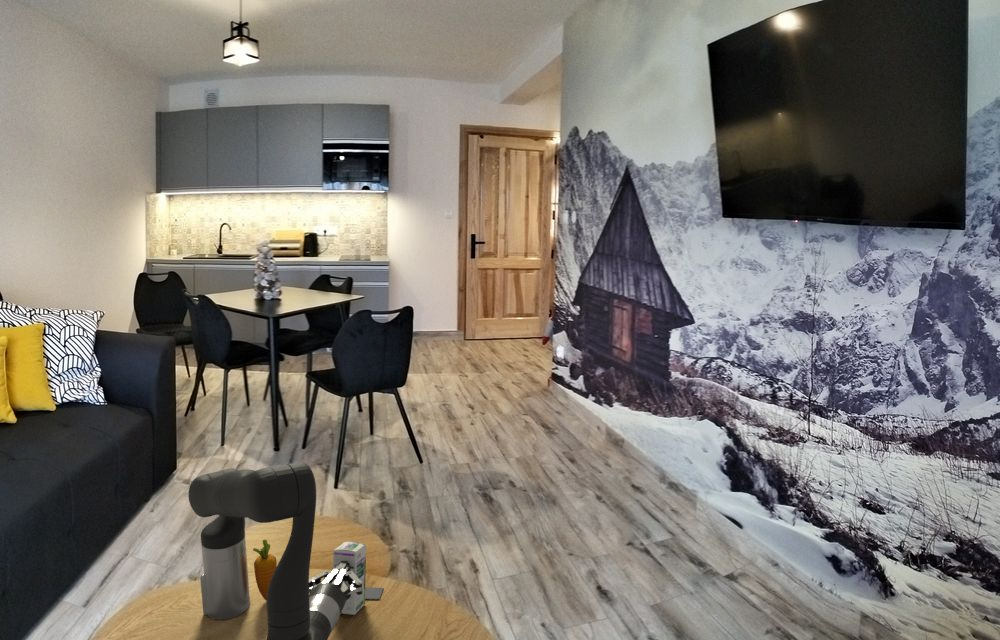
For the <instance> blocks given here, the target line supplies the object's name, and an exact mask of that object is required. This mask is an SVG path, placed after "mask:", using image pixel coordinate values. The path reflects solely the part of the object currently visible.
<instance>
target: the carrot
mask: <svg viewBox="0 0 1000 640" xmlns="http://www.w3.org/2000/svg"><path fill="white" fill-rule="evenodd" d="M262 545H263V546H262V547H261V549H259V548H255V547H254V548H253V549H252V551H253V552H256V553H257V554H259V556H256V559H255V560H254V562H253V569H254V576H255V581H256V582H255V583H256V585H257V589H258V592H259V594H260V595H261V597H262V598H263V599H264V600H265V601H266V602H267V593H268V587H269V584H270V581H271V578H272V576H273V573H274V571H275V569H276V567H277V565H278V562H277V558H276V556H275V555H273V554H271V553H269V551H270V549H271V544H270V543H268V540H267V539H263V540H262Z"/></svg>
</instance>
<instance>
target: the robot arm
mask: <svg viewBox="0 0 1000 640" xmlns="http://www.w3.org/2000/svg"><path fill="white" fill-rule="evenodd" d="M187 497H188V502H189V504H190V505H189V506H190V507H191V510H192V511H193V513H194V514H195V515H197V516H198V517H200V518H208V517H213V516H217V515H218V516H217V517H216V518H215V519H213V520H212V521H211V522H209V523H208V524H207V525H205V526H204V528H202V530H201V532H200V543H201V555H202V556H201V557H202V564H203V565H202V566H203V567H202V569H203V573H201V575H200V579H199V580H200V589H201V590H200V591H201V603H202V613H203V616H208V617H209V618H211V619H214V620H228V619H233V618H236V617H238V616H240V615H241V614H243V613H245V612H246V611H247V610H248V609H249V607H250V605H251V598H250V597H251V593H250V584H249V583H250V582H249V569H248V568H249V567H248V557H247V556H248V555H247V545H246V531H245V530H246V519H249V520H252V521H254V522H256V523H261V524H269V523H274V522H278V521H279V522H280V521H284V520H288V519H292V524H291V525H292V526H291V530H290V531H291V532H290V536H289V539H288V542H287V544H286V547H285V549H284V551H283V554H282V556H281V558H280V560H279V562H277V567H276V569H275V571H274V573H273V576H272V578H271V581H270V584H269V587H268V593H267V601H266V606H267V607H266V610H267V634H266V640H329V637H330V635H331V634H332V632H333V630H334V629H335V627H336V625H337V623H338V622H339V619H340V617H341V614H342V613H341V612H342V610H343V608H344V605H345V603H346V600H347V599H349V598H350V597H351V594H353V593H356V594H357V595H361V594H362V582H361V581H360V579H359V578H358V577H357V576H356V575H355V574H354V572H353V571H350V563H348V561H341V563H338V564H337V566H336V568H335V569H334V570H333V569H332V571H330V570H324V571H322V572H320V573H318V574H316V575H314V576H312V577H310V564H311V556H312V555H311V554H312V548H313V540H314V530H315V519H316V518H315V517H316V507H317V484H316V478H315V476H314V472H313V470H312V469H311V467H310V466H309V465H308V464H307V463H306V462H303V461H302V462H300V461H299V462H292V463H286V464H282V465H276V466H268V467H262V468H260V469H257V470H254V469H236V468H232V467H231V468H226V469H222V470H219V471H218V470H217V471H214V472H210V473H206V474H202V475H200V476H197V477H195V478H193V480H192V482H191V483H190V484H189V487H188V496H187ZM245 518H246V519H245ZM322 579H323V580H322ZM346 581H347V582H348V584H349V585H350V586H351V588H350V587H349V586H348V585H347V583H346Z"/></svg>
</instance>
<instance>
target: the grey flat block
mask: <svg viewBox="0 0 1000 640" xmlns="http://www.w3.org/2000/svg"><path fill="white" fill-rule="evenodd" d="M383 592H384V587H370V586H368V587H367V586H365V601H367V600H366V599H370V600H371V599H372V600H371V601H380V599H381V596H382V594H383ZM373 599H374V600H373ZM370 600H369V601H370Z"/></svg>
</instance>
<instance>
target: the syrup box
mask: <svg viewBox="0 0 1000 640" xmlns="http://www.w3.org/2000/svg"><path fill="white" fill-rule="evenodd" d="M332 552H333V553H332V555H333V557H332V571H333V570H334V569H335V568H336V566H337V564H338V563H341V561H348V563H350V571H353V572H354V574H355V575H356V576H357V577H358V578H359V579H360V581H361V582H362V594H361V595H357V594H356V593H353V594H351V597H350V598H349V599H347V600H346V603H345V605H344V608H343V610H342V612H341V614H344V615H353V616H355V615H357V613H358V612H359V611H360V610H361V609H362V608H363V606H365V605H366V600H365V587H366V569H367V568H366V567H367V565H366V562H367V560H366V559H367V556H366V555H367V543H364V542H357V541H344V542H342V544H341V545H339V546H337V547H336V548H334V549H333V551H332ZM346 583H347V585H348V586H349V587H350V588H351V586H350V585H349V584H348V582H347V581H346Z"/></svg>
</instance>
